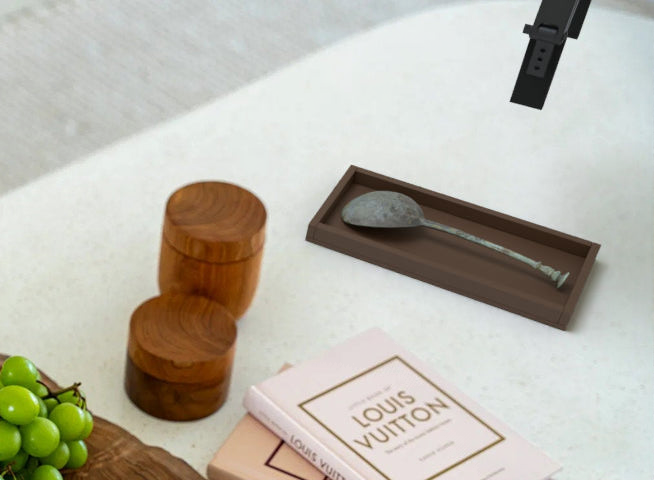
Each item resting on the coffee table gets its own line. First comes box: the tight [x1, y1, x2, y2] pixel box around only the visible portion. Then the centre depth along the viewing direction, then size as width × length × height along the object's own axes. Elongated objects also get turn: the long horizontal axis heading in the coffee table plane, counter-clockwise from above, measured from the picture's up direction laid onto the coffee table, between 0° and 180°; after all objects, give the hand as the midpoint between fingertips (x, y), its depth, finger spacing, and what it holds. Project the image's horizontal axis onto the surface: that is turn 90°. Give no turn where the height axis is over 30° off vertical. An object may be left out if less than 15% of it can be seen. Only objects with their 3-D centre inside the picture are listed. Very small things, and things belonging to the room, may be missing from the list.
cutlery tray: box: [304, 164, 602, 331], centre depth 111 cm, size 25×12×2 cm, turn 59°
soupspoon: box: [341, 191, 569, 289], centre depth 110 cm, size 22×3×7 cm
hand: (545, 68), depth 102 cm, fingers open, 13 cm apart
